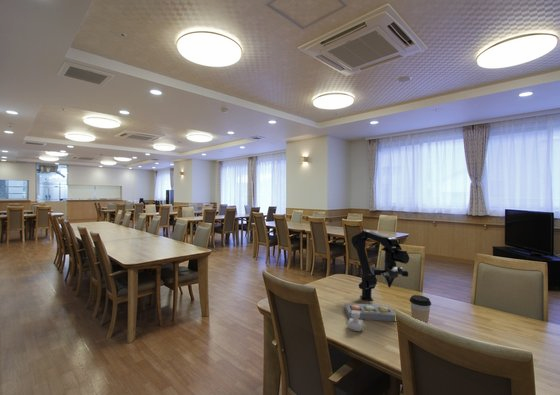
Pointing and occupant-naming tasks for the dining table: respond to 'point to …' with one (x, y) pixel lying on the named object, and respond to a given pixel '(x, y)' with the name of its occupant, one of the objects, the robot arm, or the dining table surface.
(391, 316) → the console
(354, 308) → the button terracotta
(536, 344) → the dining table surface
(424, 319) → the coffee cup
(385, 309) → the button mustard
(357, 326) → the stamp
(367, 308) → the button sage
